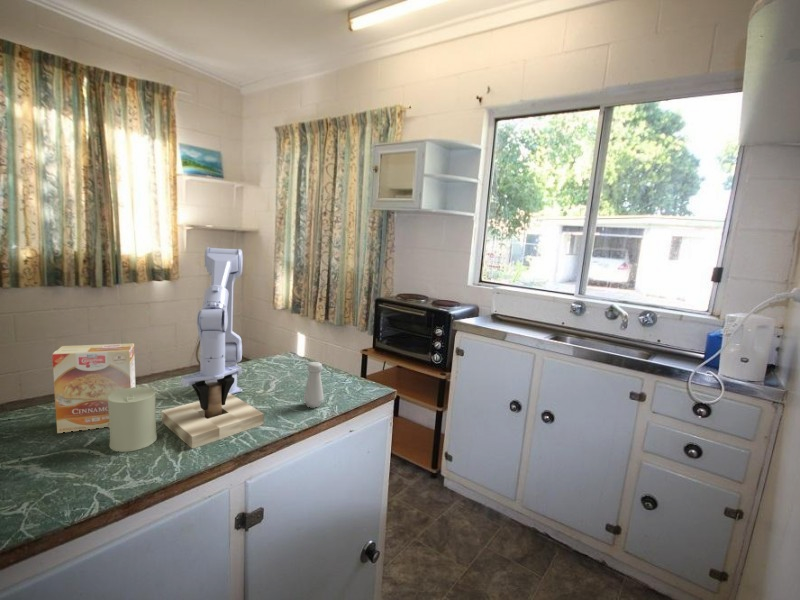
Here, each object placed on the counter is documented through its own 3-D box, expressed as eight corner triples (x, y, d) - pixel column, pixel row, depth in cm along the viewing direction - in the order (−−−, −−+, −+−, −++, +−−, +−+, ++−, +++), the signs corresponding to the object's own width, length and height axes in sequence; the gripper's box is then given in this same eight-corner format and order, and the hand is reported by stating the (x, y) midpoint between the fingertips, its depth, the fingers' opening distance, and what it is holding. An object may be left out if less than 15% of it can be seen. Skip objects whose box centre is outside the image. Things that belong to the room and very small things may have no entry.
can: (105, 455, 87) (103, 402, 85) (112, 435, 95) (110, 387, 93) (155, 447, 91) (154, 397, 89) (158, 429, 99) (157, 382, 97)
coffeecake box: (56, 434, 94) (50, 353, 91) (65, 420, 100) (61, 345, 97) (132, 425, 100) (129, 349, 97) (137, 413, 107) (134, 342, 104)
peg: (202, 417, 104) (201, 384, 102) (217, 413, 107) (217, 380, 105) (208, 423, 101) (208, 389, 100) (224, 418, 104) (224, 385, 103)
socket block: (161, 421, 103) (161, 410, 102) (229, 402, 117) (229, 392, 116) (192, 448, 92) (192, 436, 91) (263, 424, 105) (263, 413, 105)
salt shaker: (318, 410, 116) (320, 367, 114) (300, 407, 117) (301, 364, 115) (326, 402, 121) (328, 361, 119) (308, 400, 122) (309, 359, 120)
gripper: (189, 365, 93) (190, 420, 95) (247, 354, 104) (247, 403, 106) (177, 357, 98) (178, 410, 100) (234, 347, 109) (234, 395, 111)
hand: (213, 406), depth 103 cm, fingers closed on peg, 4 cm apart
